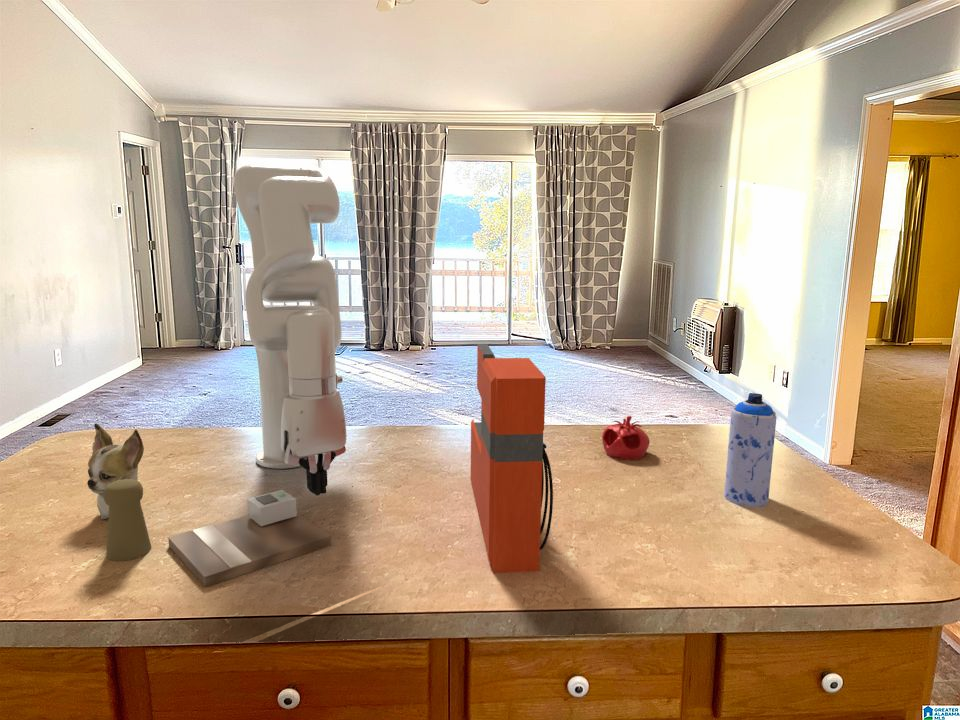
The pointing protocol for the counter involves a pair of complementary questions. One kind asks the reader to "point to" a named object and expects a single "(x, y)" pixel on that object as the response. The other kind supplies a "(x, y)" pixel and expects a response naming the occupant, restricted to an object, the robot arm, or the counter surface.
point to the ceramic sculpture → (112, 463)
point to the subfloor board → (245, 546)
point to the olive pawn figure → (126, 521)
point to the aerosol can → (750, 452)
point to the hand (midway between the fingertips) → (317, 492)
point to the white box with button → (271, 507)
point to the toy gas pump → (510, 461)
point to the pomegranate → (625, 440)
